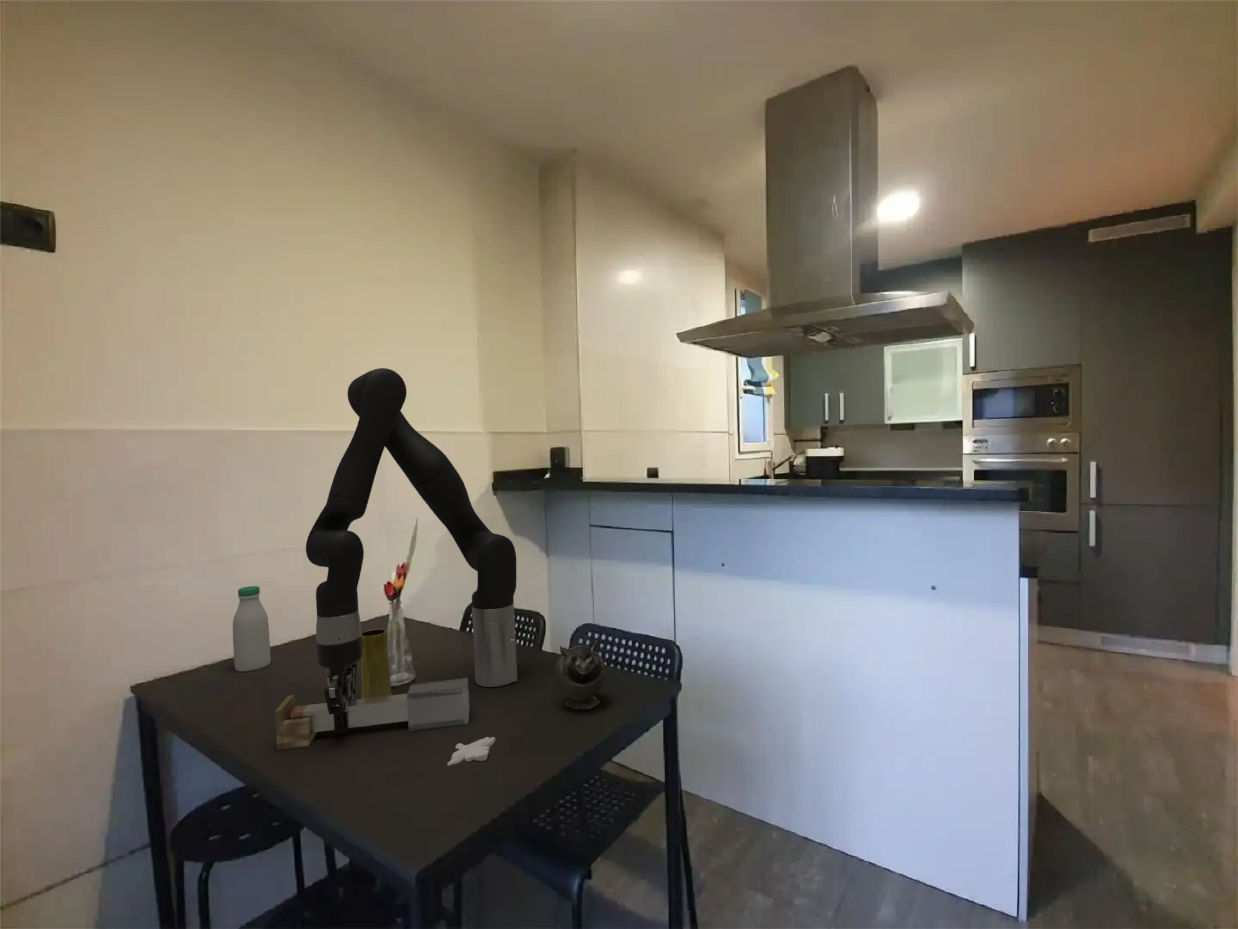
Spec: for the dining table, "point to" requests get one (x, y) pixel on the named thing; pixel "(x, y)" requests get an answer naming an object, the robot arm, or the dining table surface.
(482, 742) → the acanthus leaf ornament
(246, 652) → the milk bottle
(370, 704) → the white orange-tipped bar
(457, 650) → the dining table surface
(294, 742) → the socket
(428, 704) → the sleeve
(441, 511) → the robot arm
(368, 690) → the vase
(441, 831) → the dining table surface
